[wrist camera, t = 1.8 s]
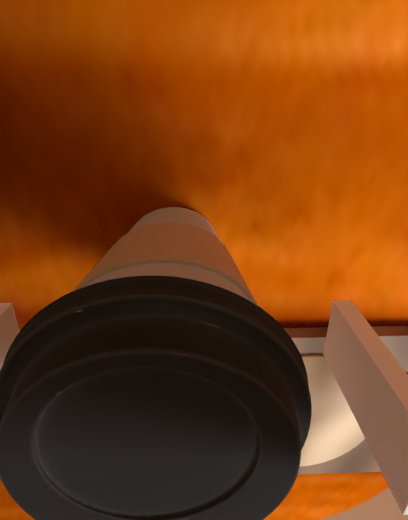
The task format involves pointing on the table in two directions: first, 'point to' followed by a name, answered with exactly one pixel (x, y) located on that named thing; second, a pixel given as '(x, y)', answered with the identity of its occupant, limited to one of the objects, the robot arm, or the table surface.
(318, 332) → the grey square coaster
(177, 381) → the coffee cup
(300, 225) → the table surface
